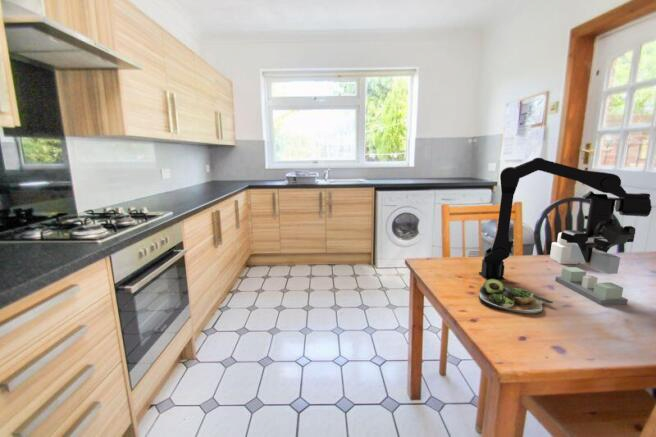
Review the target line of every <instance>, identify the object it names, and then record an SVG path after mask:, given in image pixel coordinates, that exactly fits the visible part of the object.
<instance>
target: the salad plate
mask: <svg viewBox="0 0 656 437" xmlns="http://www.w3.org/2000/svg"><path fill="white" fill-rule="evenodd" d="M478 299H479V301H480V302H481V303H482V304H483V305H485V306H487V307H489V308H492V309H495V310H500V311H506V312H510V313H511V312H512V313H518V314H529V315H530V314H531V315H532V314H538V313H541V312H543V311H544V310H543V304H554V302H553V301H552V300H550V299H547V298H543V297H541V296H538V295H537V294H536V293H535V292H533V291H530V290H527V289H522V288H520V287H518V288H516V287H510V286H508V285H504V283H503V282H502V281H500V280H496V279H489V280H487V279H486V280H485V281H484V283H483V285H481V286H480V289H479V293H478ZM514 306H522V307H527V308H528V309H524V310H523V309H514V308H512V307H514Z"/></svg>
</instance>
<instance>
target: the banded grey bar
mask: <svg viewBox="0 0 656 437" xmlns="http://www.w3.org/2000/svg"><path fill="white" fill-rule="evenodd" d="M570 258H571V259H573V260H576V261H578V262H579V263H581V264H584V265H585V266H588V267H591V268H592V269H595V270H597V271H601V272H603V273H605V274H607V275H608V274H609V275H610V274H612V275H613V274H619V273H618V271H619V266H620V260H621V257H620V256H619V255H618V256H617V255H614V254H612V253H609V252H603V251H600V250H597V249H595V248H593V250H592V254H591V259H590V262H589V263H587V262H585V260H584V257H583V255H582V252H581V250H580V248H579V246H578V244H577V243H576V244H572V248H571V255H570Z"/></svg>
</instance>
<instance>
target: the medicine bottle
mask: <svg viewBox="0 0 656 437" xmlns="http://www.w3.org/2000/svg"><path fill="white" fill-rule="evenodd" d="M562 232H563V231H561V232H558V234H557V240H556V241H554V242H551V247H550V253H549V254H550V255H549V258H550V259H551V260H553V261H554V262H556V263H558V264H560V265H579V264H580V262H578V261H576V260H573V259H571V258H570V255H571V248H572V244H577V243H573V242H570V241H567V240H564V239H561V233H562Z"/></svg>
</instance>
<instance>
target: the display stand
mask: <svg viewBox="0 0 656 437" xmlns="http://www.w3.org/2000/svg"><path fill="white" fill-rule="evenodd" d="M586 274H587V271H586V270H584V269H581V268H579V267H577V266H576V267H575V266H573V267H572V266H571V267H562V268H561V274H560V275H561V276H555V280H554V281H556V283H559V284H561V285H563V287H565V288H566V287H567V288H569V289H570V290H572V291H573V292H576V293H577V294H579V295H581V296H583V297H585V298H587V299H589V300H591V301H592V302H594V303H596V304H598V305H600V306H605V305H606V306H608V305H609V306H610V305H612V306H613V305H615V306H617V305H628V299H627V298H626V297H624V296H623V292H624V287H622V286H620V285H619V284H615V283H614V282H598V279H599V278H598V277H596V276H594V275H586Z"/></svg>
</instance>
